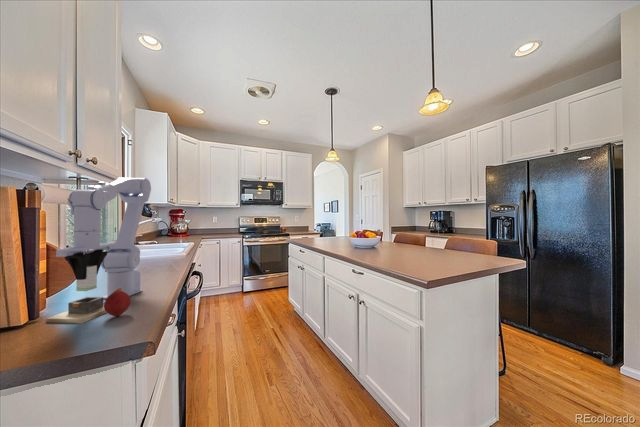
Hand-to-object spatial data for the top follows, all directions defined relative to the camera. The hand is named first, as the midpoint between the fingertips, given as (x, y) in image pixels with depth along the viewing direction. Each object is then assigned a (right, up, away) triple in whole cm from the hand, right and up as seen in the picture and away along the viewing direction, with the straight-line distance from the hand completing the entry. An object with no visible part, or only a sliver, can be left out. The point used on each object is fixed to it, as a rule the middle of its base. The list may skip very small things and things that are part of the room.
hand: (86, 277), depth 72 cm
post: (0, -3, 0) cm, 3 cm away
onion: (+10, -11, -2) cm, 15 cm away
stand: (0, -10, 0) cm, 10 cm away
